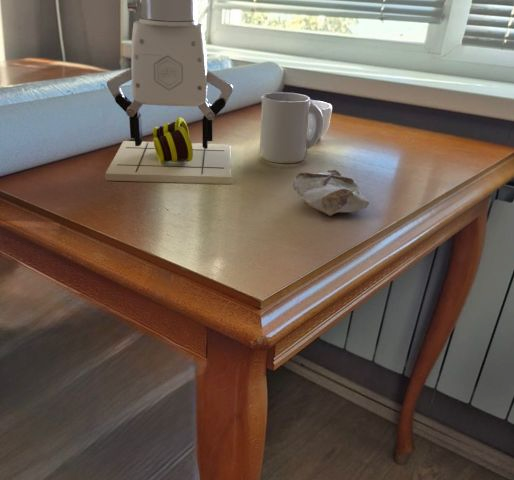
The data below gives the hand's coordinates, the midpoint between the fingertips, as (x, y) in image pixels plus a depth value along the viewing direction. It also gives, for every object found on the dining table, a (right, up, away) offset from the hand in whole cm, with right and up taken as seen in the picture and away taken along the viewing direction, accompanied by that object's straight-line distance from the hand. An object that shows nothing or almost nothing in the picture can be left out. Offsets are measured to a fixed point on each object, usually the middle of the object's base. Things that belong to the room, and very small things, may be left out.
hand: (172, 144), depth 88 cm
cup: (+18, +1, +8) cm, 19 cm away
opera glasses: (0, -2, +1) cm, 2 cm away
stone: (+21, -11, -10) cm, 26 cm away
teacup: (+21, +7, +18) cm, 29 cm away
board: (0, -2, +2) cm, 3 cm away
